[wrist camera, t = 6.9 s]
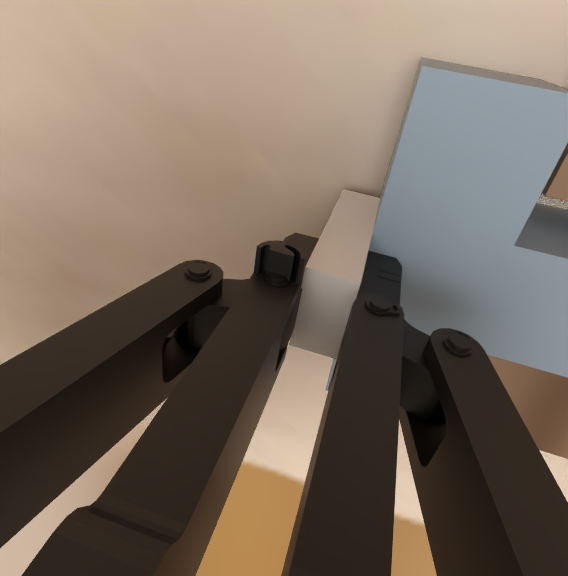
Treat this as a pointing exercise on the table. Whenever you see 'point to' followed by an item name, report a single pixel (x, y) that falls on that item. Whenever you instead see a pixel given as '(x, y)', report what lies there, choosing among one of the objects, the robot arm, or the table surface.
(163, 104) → the table surface
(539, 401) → the dock
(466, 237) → the tee block
